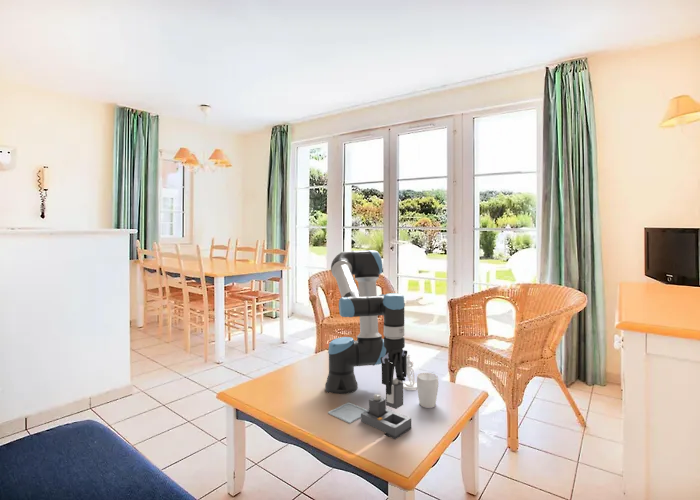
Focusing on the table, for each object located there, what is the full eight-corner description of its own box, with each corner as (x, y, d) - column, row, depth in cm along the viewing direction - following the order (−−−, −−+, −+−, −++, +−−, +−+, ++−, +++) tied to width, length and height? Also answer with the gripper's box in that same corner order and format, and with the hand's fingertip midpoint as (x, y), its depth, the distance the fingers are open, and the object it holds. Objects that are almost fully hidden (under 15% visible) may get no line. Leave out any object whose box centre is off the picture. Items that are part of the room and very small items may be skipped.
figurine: (400, 382, 182) (399, 352, 181) (418, 382, 181) (418, 352, 181) (402, 390, 173) (401, 358, 172) (421, 390, 172) (421, 358, 172)
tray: (327, 415, 149) (327, 412, 149) (348, 405, 158) (348, 402, 158) (349, 426, 141) (349, 422, 141) (370, 414, 150) (370, 411, 149)
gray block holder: (361, 423, 142) (360, 396, 142) (377, 414, 150) (377, 388, 149) (395, 439, 131) (395, 410, 131) (411, 428, 139) (411, 400, 138)
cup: (438, 410, 153) (438, 381, 152) (416, 408, 155) (416, 379, 154) (438, 400, 162) (438, 373, 161) (416, 399, 163) (416, 371, 163)
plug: (386, 405, 137) (385, 379, 137) (393, 401, 140) (393, 376, 140) (396, 409, 134) (395, 382, 134) (403, 404, 137) (403, 379, 137)
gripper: (387, 343, 127) (388, 411, 128) (416, 333, 140) (416, 395, 141) (370, 339, 132) (371, 404, 133) (399, 330, 145) (400, 390, 146)
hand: (394, 399), depth 137 cm, fingers closed on plug, 4 cm apart
